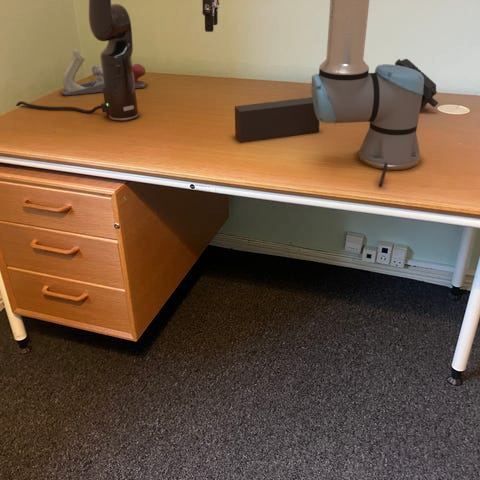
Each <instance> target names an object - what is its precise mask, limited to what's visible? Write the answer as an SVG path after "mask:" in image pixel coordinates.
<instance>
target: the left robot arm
mask: <svg viewBox="0 0 480 480" xmlns="http://www.w3.org/2000/svg"><path fill="white" fill-rule="evenodd" d="M201 1H202V2H201V3H202V5H201V6H202V15H203V17H204V31H205V32H206V33H213V32H214V30H215V29H214V26H217V25H218V24H219V23H218V21H219V20H218V19H219V18H218V17H219V16H218V14H219V13H218V10H219V6H220V0H201ZM88 23H89V28H90V31H91V33H92V35H93V37H94V38H95V39H97V41H100V42H107V44H106V46H105V48H104V49H103V50H102V51H101V52H100V55H99V56H100V57H99V58H100V64H101V68H102V71H103V78H104V84H105V87H103V92H102V94H103V100H104V101H103V102H101V103H100V104H99V105H97V106H94V107H93V108H92V109H83V108H81V107H76V106H50V105H49V106H47V105H40V104H39V105H38V104H32V103H28V102H26V101H17V103H16V105H15V106H16V107H20V106H21V105H23V106H25V107H27V108H33V109H39V110H50V111H51V110H52V111H61V110H62V111H77V112H79V113H83V114H93V113H95V112H96V111H97V110H101V112H102V113H105V114H106V118H109V120H111V121H115V122H126V121H127V122H128V121H132V120H134V119H137V118H138V117H139V115H140V113H139V108H138V100H137V90H136V88H135V82H134V74H133V58H132V55H133V51H134V44H133V43H134V42H133V32H132V21H131V17H130V14H129V12H128V10H127V9H126V8H125V6H123V5H122V4H119V3H112V0H88Z"/></svg>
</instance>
